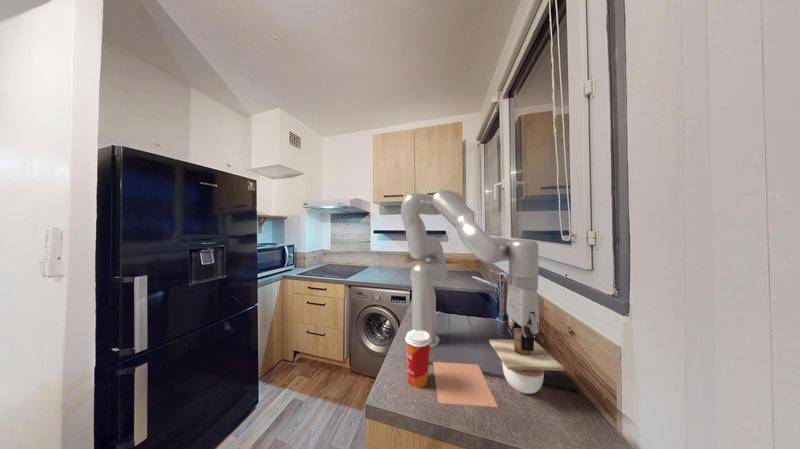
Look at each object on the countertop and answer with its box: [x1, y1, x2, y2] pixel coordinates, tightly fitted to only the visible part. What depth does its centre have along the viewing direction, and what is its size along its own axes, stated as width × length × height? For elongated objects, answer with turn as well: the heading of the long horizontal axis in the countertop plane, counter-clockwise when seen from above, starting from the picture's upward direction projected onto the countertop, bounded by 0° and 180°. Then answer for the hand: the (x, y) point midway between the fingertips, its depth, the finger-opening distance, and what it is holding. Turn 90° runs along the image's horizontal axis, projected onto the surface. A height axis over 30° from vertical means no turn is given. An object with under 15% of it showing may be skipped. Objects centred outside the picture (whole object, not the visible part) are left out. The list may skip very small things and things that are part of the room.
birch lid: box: [488, 328, 565, 372], centre depth 63 cm, size 14×14×7 cm
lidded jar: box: [501, 360, 545, 395], centre depth 63 cm, size 11×11×9 cm
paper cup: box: [404, 329, 431, 388], centre depth 64 cm, size 8×8×14 cm
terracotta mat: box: [432, 361, 499, 408], centre depth 64 cm, size 17×15×1 cm
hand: (522, 344), depth 63 cm, fingers open, 4 cm apart
